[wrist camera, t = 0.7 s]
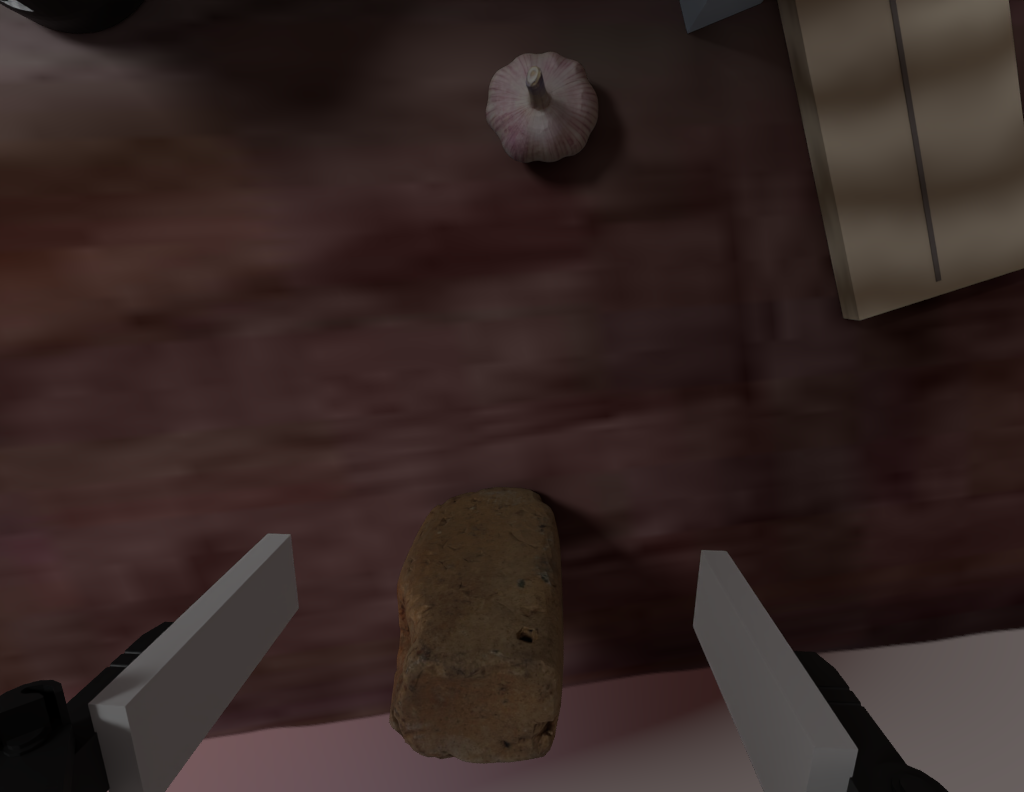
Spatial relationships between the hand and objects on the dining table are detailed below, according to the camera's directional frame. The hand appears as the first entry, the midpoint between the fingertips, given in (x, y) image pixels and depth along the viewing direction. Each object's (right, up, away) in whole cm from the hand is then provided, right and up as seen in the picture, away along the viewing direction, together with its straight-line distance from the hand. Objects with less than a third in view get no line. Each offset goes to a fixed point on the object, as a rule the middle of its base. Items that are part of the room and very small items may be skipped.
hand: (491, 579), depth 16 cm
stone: (-1, -5, +28) cm, 28 cm away
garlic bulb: (+3, +26, +20) cm, 33 cm away
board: (+26, +27, +18) cm, 42 cm away
